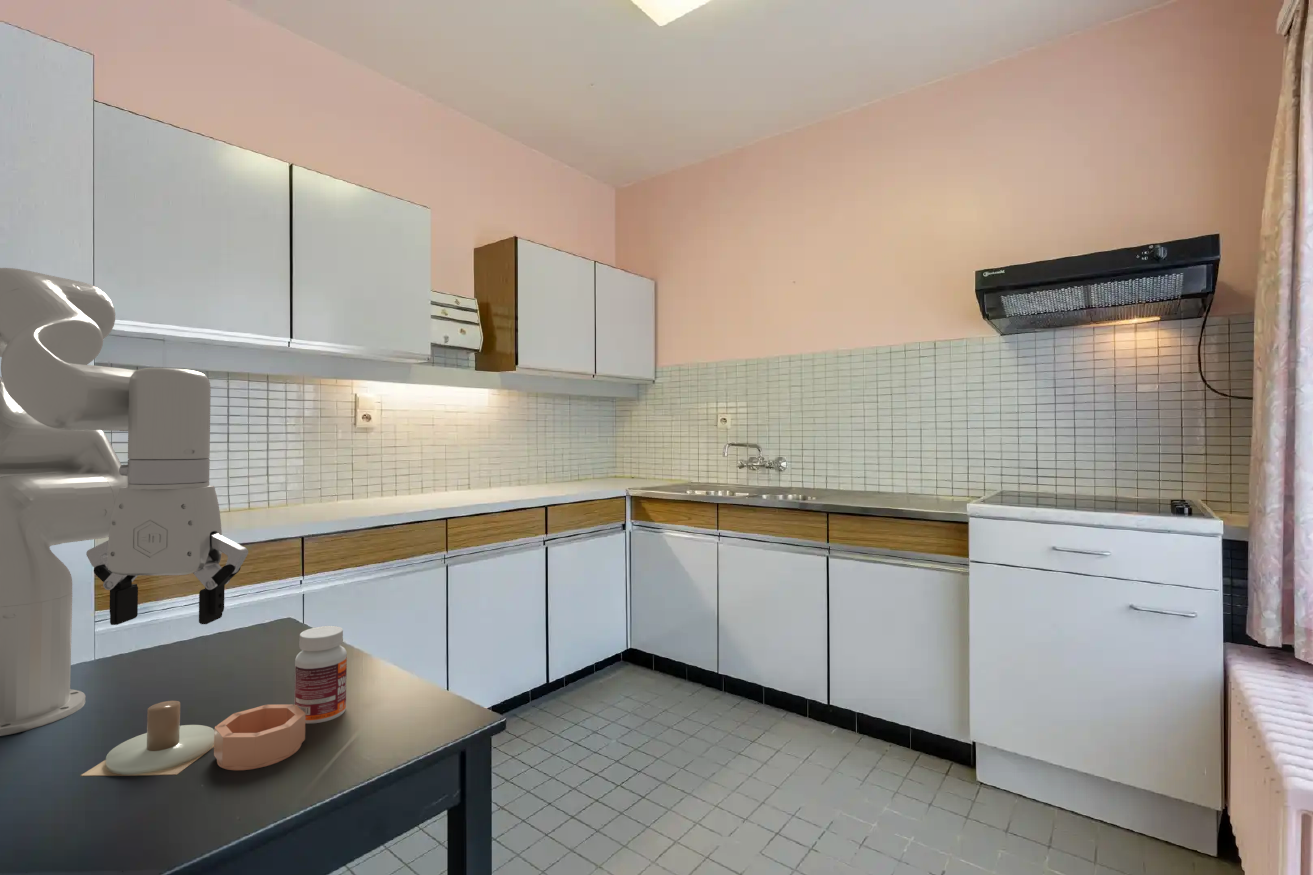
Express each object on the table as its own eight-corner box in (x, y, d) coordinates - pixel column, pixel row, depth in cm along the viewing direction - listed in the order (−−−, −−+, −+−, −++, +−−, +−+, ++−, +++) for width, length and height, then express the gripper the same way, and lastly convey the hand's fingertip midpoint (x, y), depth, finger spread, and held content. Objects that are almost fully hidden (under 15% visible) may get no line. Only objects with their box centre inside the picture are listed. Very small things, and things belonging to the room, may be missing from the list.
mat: (80, 778, 67) (80, 775, 67) (150, 734, 77) (150, 731, 77) (176, 777, 67) (177, 774, 67) (234, 733, 77) (234, 730, 77)
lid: (80, 775, 67) (81, 726, 67) (150, 731, 77) (151, 688, 77) (176, 774, 67) (178, 725, 67) (234, 730, 77) (235, 688, 77)
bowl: (198, 773, 68) (199, 737, 68) (245, 736, 77) (245, 704, 77) (277, 772, 69) (278, 736, 69) (314, 736, 77) (315, 704, 77)
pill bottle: (348, 719, 82) (350, 634, 82) (295, 730, 78) (296, 641, 78) (342, 702, 87) (344, 622, 87) (292, 712, 84) (294, 628, 84)
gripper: (62, 476, 68) (60, 631, 68) (226, 477, 69) (224, 630, 69) (118, 472, 75) (116, 612, 75) (264, 473, 76) (262, 611, 76)
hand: (167, 621), depth 72 cm, fingers open, 9 cm apart
